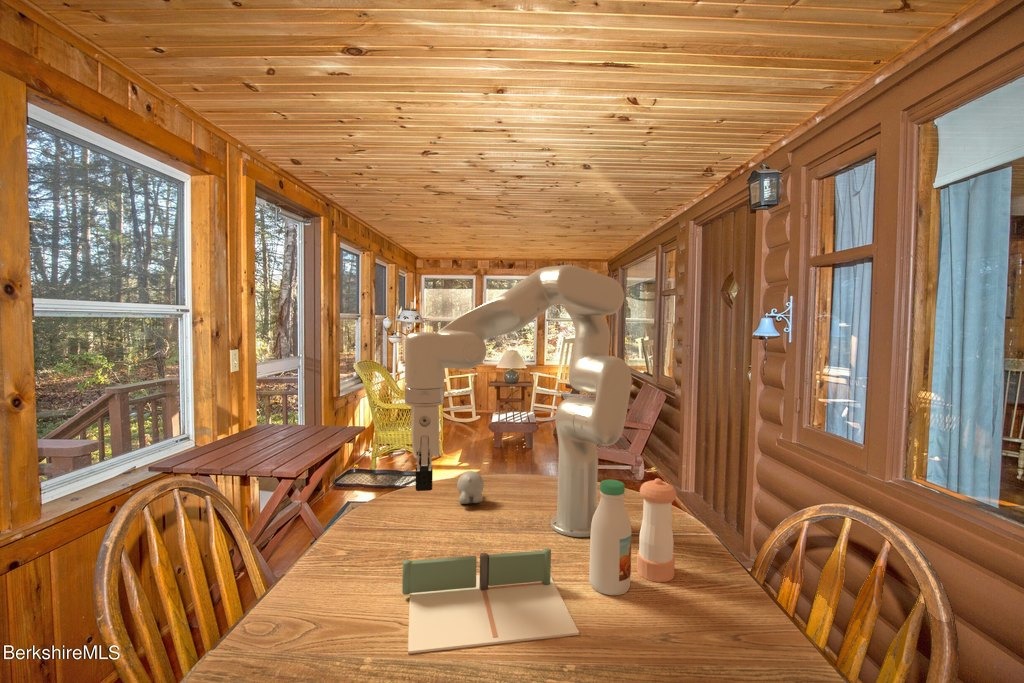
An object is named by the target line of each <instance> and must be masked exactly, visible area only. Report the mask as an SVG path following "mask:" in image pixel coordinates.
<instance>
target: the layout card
mask: <svg viewBox="0 0 1024 683" xmlns="http://www.w3.org/2000/svg"><path fill="white" fill-rule="evenodd" d="M479 587H480V574H476V587H475V588H464V589H453V590H441V591H430V592H419V593H410V594H409V609H408V613H409V614H408V640H407V642H408V643H407V644H408V645H407V654H409V655H411V654H421V653H427V652H439V651H447V650H455V649H464V648H474V647H483V646H491V645H499V644H509V643H519V642H525V641H526V642H528V641H537V640H545V639H546V640H547V639H554V638H561V637H562V638H564V637H570V636H571V637H572V636H579V635H580V632H579V630H578V628H577V626H576V623H575V621H574V620H573V618H572V615H571V614H570V612H569V610H568V607H567V606H566V604H565V602H564V600H563V598H562V596H561V594H560V592H559V590H558V587H557V586H556V584H555V582H554V580H553V578H552V576H551V577H550V585H543V583H542V582H531V583H520V584H509V585H497V586H488V590H482V591H481V590H480V589H479Z"/></svg>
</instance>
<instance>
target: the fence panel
mask: <svg viewBox="0 0 1024 683" xmlns="http://www.w3.org/2000/svg"><path fill="white" fill-rule="evenodd" d="M477 562H478V560H477V555H469V556H467V555H466V556H455V557H441V558H440V557H439V558H430V559H429V558H427V559H417V560H415V559H414V560H410V559H405V560H403V561H402V582H401V583H402V585H401V586H402V587H401V588H402V589H401V590H402V594H403V595H406V596H408V595H410V593H419V592H430V591H441V590H453V589H464V588H475V587H476V575H477Z"/></svg>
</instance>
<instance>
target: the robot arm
mask: <svg viewBox="0 0 1024 683" xmlns="http://www.w3.org/2000/svg"><path fill="white" fill-rule="evenodd" d="M624 301H625V292H624V288H623V287H622V285H621V284H620V282H618V281H617V279H615V278H613V277H610V276H608V275H604V274H601V273H598V272H595V271H592V270H589V269H587V268H583V267H580V266H576V265H572V264H561V265H555V266H554V265H552V266H545V267H542V268H539V269H537V270H535V271H533V272H532V273H530V274H529V275H528V276H526V277H524V278H523V279H522V280H520V281H519V282H518V283H517V284H515V285H513V286H512V287H511V288H509V289H508V290H506V291H505V292H503V293H502V294H501V295H500V294H499V296H497V297H496V298H493V299H490V300H489V301H487V302H485V303H483V304H482V305H479V306H478V307H475V308H473V309H472V310H469V311H467V312H465V313H463V314H461V315H460V316H458V317H456V318H455V319H454V320H452V321H451V322H449V323H448V324H446V325H445V326H443V327H442V328H440V330H437V332H433V331H431V332H430V331H429V332H428V331H426V332H425V331H419V332H417V331H415V332H410V333H408V334H407V336H406V337H405V342H404V343H405V344H404V404H405V405H406V406H410V407H411V408H410V417H411V418H410V419H411V420H410V426H411V428H410V429H411V444H412V453H413V455H412V456H413V457H414V458H415V459H416V467H415V491H417V492H427V491H428V492H429V491H432V490H433V473H434V472H433V466H432V459H433V457H435V458H439V457H440V406H442V405H444V404H445V369H457V370H471V369H474V368H476V367H477V368H478V366H480V365H481V364H482V363H483V362H484V361H485V358H486V356H487V346H486V343H485V341H486V340H488V339H491V338H494V337H495V338H496V337H499V336H504V335H507V334H508V335H509V334H511V333H513V332H517V331H519V330H523V328H525V327H526V326H527V325H529V324H530V323H532V322H533V321H534V320H536V319H537V317H539V316H540V315H542V314H543V313H544V312H546V311H547V310H549V309H550V308H552V307H553V306H556V305H562V307H563V308H564V310H565V311H566V313H567V314H568V315H569V317H570V319H571V321H572V323H573V326H574V333H575V334H574V343H573V348H572V353H571V359H570V365H569V371H568V372H569V373H568V382H569V385H570V386H571V387H572V389H574V390H575V391H578V392H580V393H585V394H589V395H594V396H595V400H593V399H589V398H585V397H577V396H571V397H568V398H565V399H564V400H562V401H561V402H560V403H559V404H558V406H557V407H556V411H555V415H554V417H555V420H554V422H555V428H556V436H557V443H558V458H557V459H558V460H557V462H558V464H557V466H558V467H557V469H558V470H557V501H556V502H557V505H556V508H557V509H556V514H554V515H553V516H552V517H551V518H550V527H551V528H552V530H553V531H555V532H557V533H559V534H561V535H564V536H569V537H573V538H574V537H575V538H588V537H590V536H591V523H592V518H593V515H594V513H595V511H596V509H597V507H598V473H599V472H598V470H599V469H598V468H599V455H598V454H599V453H598V448H597V445H598V446H603V447H607V446H612V445H615V443H617V442H618V441H619V439H620V438H621V437H622V435H623V432H624V429H625V424H626V421H627V420H626V417H627V414H628V407H629V401H630V396H631V390H632V382H633V379H632V373H631V369H630V367H629V365H628V363H627V362H626V361H625V360H624V359H622V358H621V357H617V356H613V355H612V356H611V355H609V350H610V344H611V343H610V342H611V330H610V327H609V324H608V322H607V319H606V317H605V316H611V315H613V314H615V313H617V312H618V311H620V309H621V308H622V306H623V304H624Z"/></svg>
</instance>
